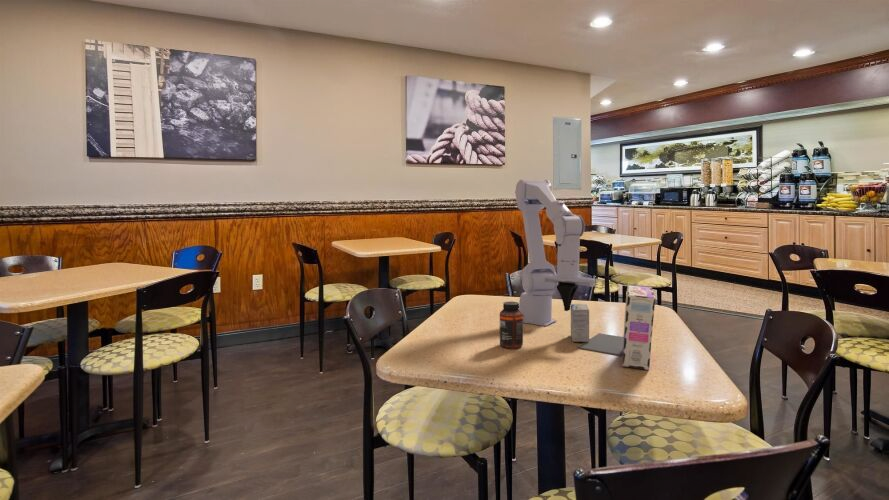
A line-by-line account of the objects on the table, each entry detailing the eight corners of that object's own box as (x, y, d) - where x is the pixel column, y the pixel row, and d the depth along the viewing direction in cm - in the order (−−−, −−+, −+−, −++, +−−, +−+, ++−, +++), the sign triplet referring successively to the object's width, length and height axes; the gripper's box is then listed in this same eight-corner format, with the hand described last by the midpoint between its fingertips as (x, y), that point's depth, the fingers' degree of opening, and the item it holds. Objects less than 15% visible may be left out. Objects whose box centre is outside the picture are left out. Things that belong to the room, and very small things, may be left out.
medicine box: (589, 342, 129) (589, 309, 128) (571, 341, 129) (572, 309, 129) (586, 334, 136) (587, 303, 135) (570, 334, 137) (570, 303, 136)
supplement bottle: (524, 343, 129) (525, 301, 128) (520, 350, 123) (521, 305, 122) (502, 341, 131) (502, 299, 130) (497, 348, 125) (497, 304, 124)
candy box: (650, 371, 108) (655, 297, 106) (621, 367, 110) (626, 294, 108) (647, 352, 121) (652, 286, 119) (622, 348, 123) (626, 283, 121)
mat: (577, 348, 125) (577, 347, 125) (598, 334, 138) (598, 333, 138) (621, 356, 118) (621, 354, 118) (639, 340, 131) (639, 339, 131)
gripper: (537, 260, 134) (536, 309, 135) (589, 264, 125) (587, 316, 127) (548, 257, 140) (547, 305, 141) (598, 261, 131) (597, 311, 132)
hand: (567, 310), depth 134 cm, fingers closed
